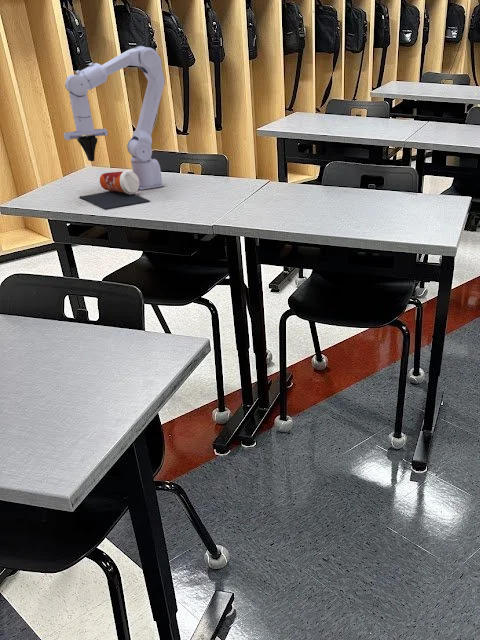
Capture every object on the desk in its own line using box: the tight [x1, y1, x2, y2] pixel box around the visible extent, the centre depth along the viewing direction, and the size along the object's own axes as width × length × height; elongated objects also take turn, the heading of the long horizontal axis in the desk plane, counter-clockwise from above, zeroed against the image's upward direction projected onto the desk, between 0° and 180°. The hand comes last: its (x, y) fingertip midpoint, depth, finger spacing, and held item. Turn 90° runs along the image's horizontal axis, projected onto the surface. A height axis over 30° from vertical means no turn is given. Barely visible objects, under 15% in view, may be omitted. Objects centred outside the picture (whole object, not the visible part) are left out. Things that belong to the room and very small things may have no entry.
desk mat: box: [79, 191, 151, 210], centre depth 224 cm, size 16×20×1 cm
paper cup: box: [99, 169, 139, 194], centre depth 228 cm, size 8×8×14 cm
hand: (91, 160), depth 226 cm, fingers closed
